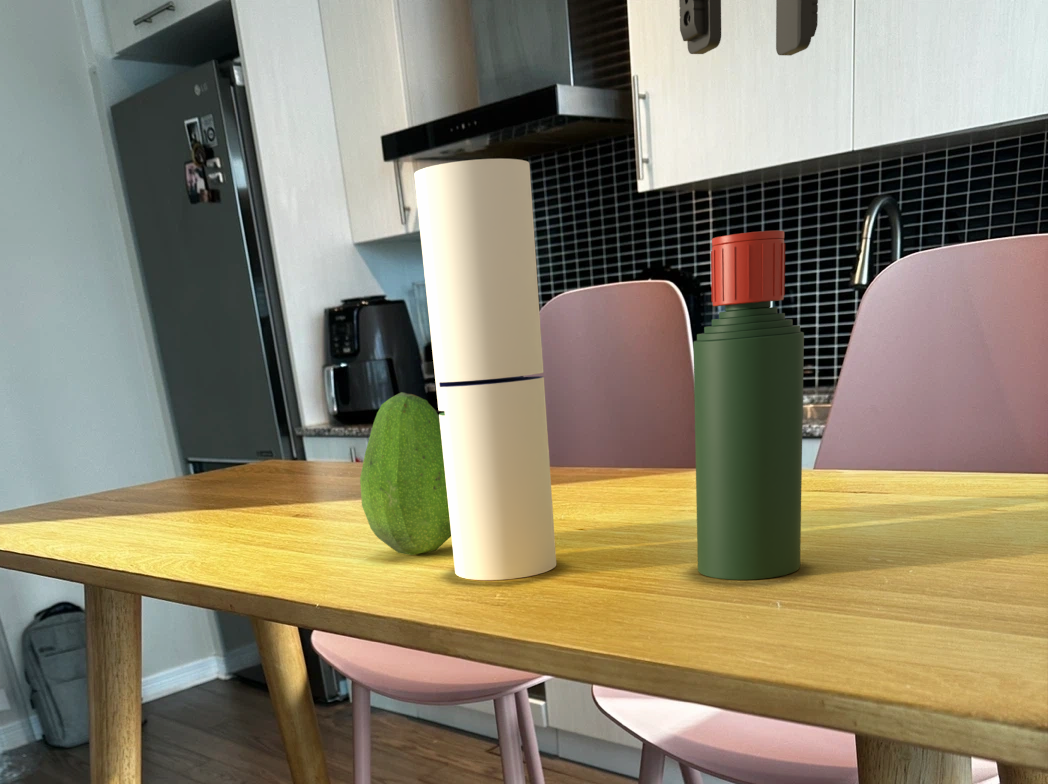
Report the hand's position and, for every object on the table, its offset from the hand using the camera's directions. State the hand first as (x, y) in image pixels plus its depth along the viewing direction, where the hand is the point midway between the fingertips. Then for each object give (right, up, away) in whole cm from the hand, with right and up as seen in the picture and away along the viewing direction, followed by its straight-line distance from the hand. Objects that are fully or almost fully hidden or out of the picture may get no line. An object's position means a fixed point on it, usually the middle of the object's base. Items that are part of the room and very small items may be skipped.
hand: (750, 49), depth 56 cm
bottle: (+2, -27, +10) cm, 29 cm away
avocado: (-20, -23, +24) cm, 39 cm away
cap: (+1, -12, +5) cm, 13 cm away
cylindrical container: (-13, -26, +17) cm, 33 cm away
